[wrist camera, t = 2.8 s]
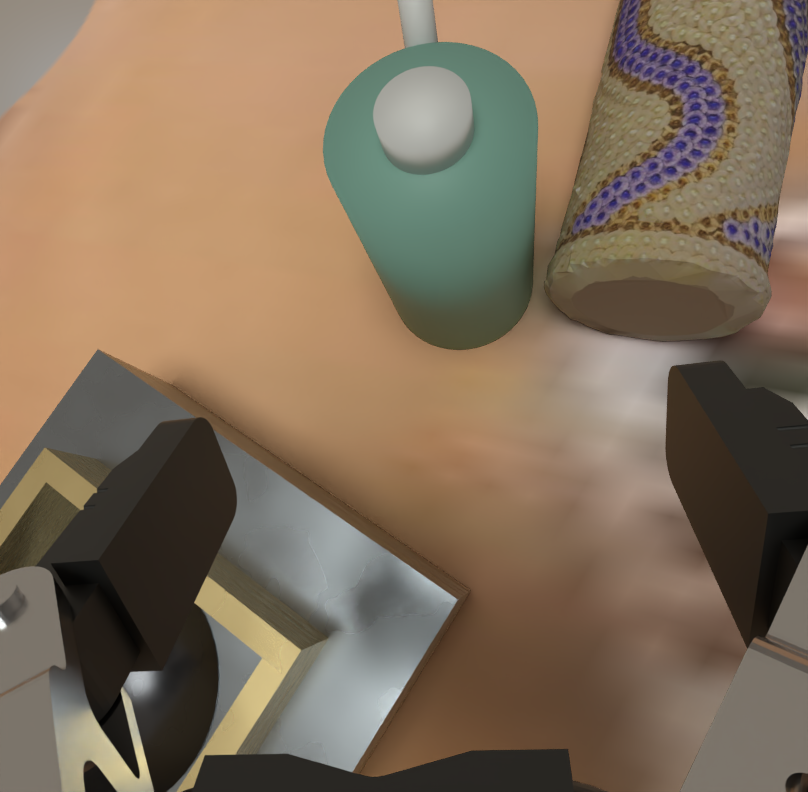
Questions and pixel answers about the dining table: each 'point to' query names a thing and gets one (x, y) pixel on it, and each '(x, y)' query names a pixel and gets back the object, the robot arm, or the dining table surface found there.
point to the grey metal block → (245, 591)
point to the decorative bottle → (682, 169)
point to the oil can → (441, 182)
